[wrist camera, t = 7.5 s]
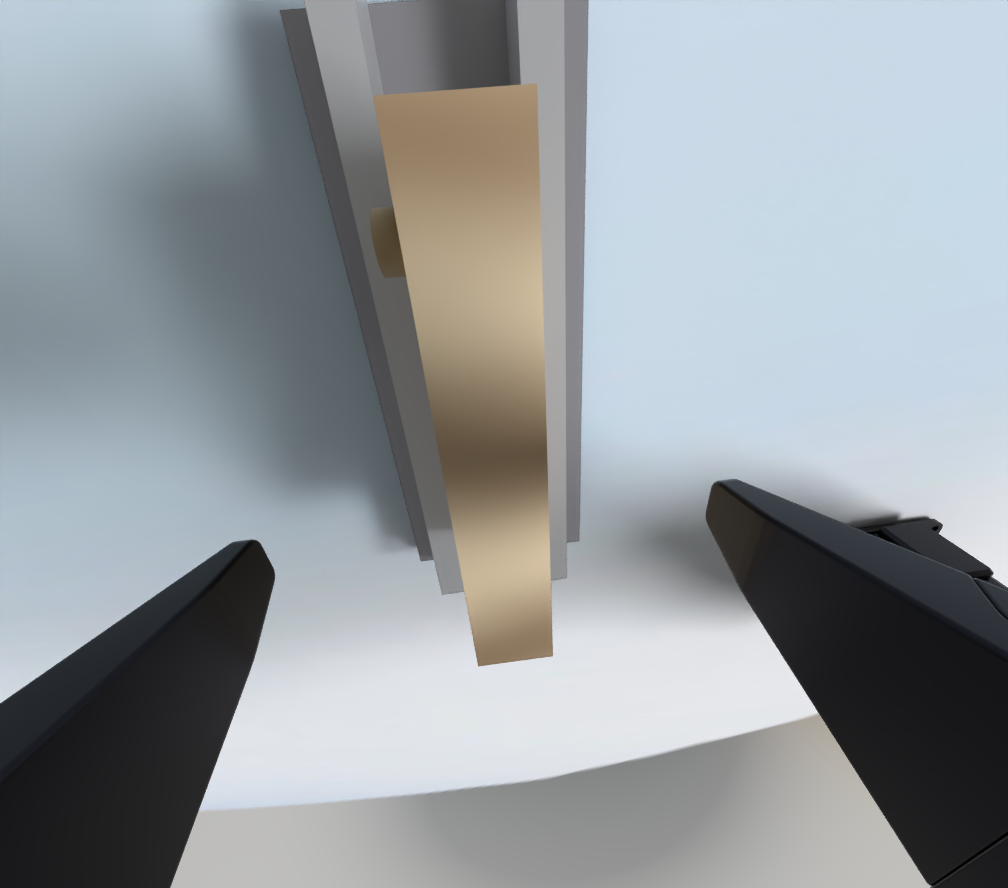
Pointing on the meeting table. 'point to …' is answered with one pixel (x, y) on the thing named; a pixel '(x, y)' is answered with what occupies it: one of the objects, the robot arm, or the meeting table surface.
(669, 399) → the meeting table surface
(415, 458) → the door track
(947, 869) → the robot arm
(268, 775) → the meeting table surface
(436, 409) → the door panel
